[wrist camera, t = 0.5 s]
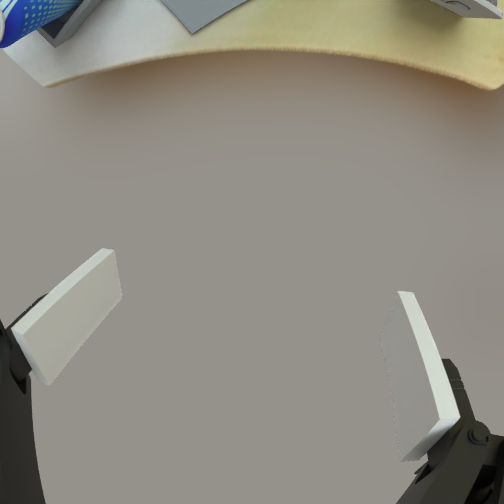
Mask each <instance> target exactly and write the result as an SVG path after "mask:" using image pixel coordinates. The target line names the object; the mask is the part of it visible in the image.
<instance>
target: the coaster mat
mask: <svg viewBox="0 0 504 504" xmlns="http://www.w3.org/2000/svg"><path fill="white" fill-rule="evenodd" d="M162 1H163V2H164V3H165V4H166V6H167V7H168V8H169V9H170V10H171V11H172V12H173V13H174V14H175V15H176V16H177V18H178V19H179V20H180V21H181V22H182V23H183V24H184V25H185V26H186V28H187V29H188V30H189V31H190V32H191V33H192V34H193V33H194V32H196V31H197V30H199V29H200V28H202V27H203V26H205V25H206V24H208V23H209V22H211V21H212V20H214V19H216V18H217V17H219V16H220V15H222V14H224V13H225V12H227V11H229V10H231V9H232V8H234V7H236V6H238V5H239V4H241V3H243V2H245V1H247V0H162Z"/></svg>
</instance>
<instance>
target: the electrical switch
mask: <svg viewBox="0 0 504 504" xmlns="http://www.w3.org/2000/svg"><path fill="white" fill-rule="evenodd" d="M429 1H432V2H434V3H436V4H438V5H440V6H442V7H444V8H446V9H449V10H451V11H452V12H454V13H456V14H458V15H460V16H462V17H466V18H492V19H502V15H503V11H501V10H500V9H498V8H497V0H429Z"/></svg>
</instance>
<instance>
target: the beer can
mask: <svg viewBox="0 0 504 504" xmlns="http://www.w3.org/2000/svg"><path fill="white" fill-rule="evenodd" d="M81 1H82V0H0V48H5V47H8V46H10V45H11V44H13V43H14V42H16V41H18V40H19V39H21V38H22V37H24V36H26V35H27V34H29V33H31V32H32V31H34V30H36V29H38V28H39V27H41V26H43V25H45V24H47V23H49V22H50V21H52V20H54V19H56V18H58V17H60V16H62V15H64V14H66V13H68V12H70V11H72V10H74V9H75V8H76V7H77V6H78V5H79V4H80V2H81Z"/></svg>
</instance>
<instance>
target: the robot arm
mask: <svg viewBox="0 0 504 504" xmlns="http://www.w3.org/2000/svg"><path fill="white" fill-rule="evenodd" d="M121 298H122V291H121V286H120V281H119V275H118V270H117V264H116V258H115V251H114V250H109V249H103V248H102V249H101V250H100V251H98V252H97V253H96V254H95V255H93V256H92V257H91V258H90V259H88V260H87V261H86V262H85V263H84V264H82V265H81V266H80V267H79V268H77V269H76V270H75V271H74V272H73V273H71V274H70V275H69V276H68V277H67V278H66V279H64V280H63V281H62V282H61V283H60V284H59V285H57V286H56V288H54V289H53V290H52V291H51V292H50V293H47V294H45V295H43V296H42V297H40V298H39V299H37V300H36V301H35V302H34V303H33V304H32V306H30V307H29V308H28V309H27V310H26V311H24V312H23V313H22V314H21V315H20V316H19V317H18V318H17V319H16V320H15V321H14V322H13V323H12V324H11V325H9V326H8V327H7V328H6V329H5V328H4V326H3V324H2V322H1V320H0V504H46V503H45V499H44V495H43V490H42V486H41V480H40V475H39V470H38V463H37V457H36V450H35V441H34V432H33V420H32V405H31V404H32V403H31V379H30V376H29V372H30V371H31V370H33V372H34V374H35V376H36V377H37V379H38V380H40V381H42V382H43V383H45V384H47V385H49V386H50V385H51V384H52V382H53V381H54V380H55V378H56V377H57V376H58V374H59V373H60V372H61V371H62V369H63V368H64V367H65V366H66V364H67V363H68V362H69V360H70V359H71V358H72V357H73V355H74V354H75V353H76V352H77V351H78V349H79V348H80V347H81V345H82V344H83V343H84V342H85V341H86V340H87V338H88V337H89V336H90V335H91V333H92V332H93V331H94V330H95V329H96V327H97V326H98V325H99V324H100V323H101V322H102V320H103V319H104V318H105V317H106V316H107V314H108V313H109V312H110V311H111V310H112V309H113V308H114V306H115V305H116V304H117V303H118V302H119V301H120V300H121ZM380 341H381V346H382V351H383V356H384V360H385V365H386V370H387V376H388V381H389V386H390V392H391V398H392V404H393V410H394V417H395V424H396V431H397V439H398V447H399V457H400V462H403V461H415V460H419V459H420V458H421V457H422V456H424V455H425V454H426V453H427V455H428V461H427V462H426V463H425V464H424V465H423V466H421V467H420V468H419V469H418V470H417V471H416V472H415V473H414V474H418V475H417V476H416V477H415V479H414V480H413V482H412V483H411V484H410V486H409V487H408V489H407V490H406V491H405V493H404V494H403V495H402V496H401V498H400V499H399V500H398V502H397V503H396V504H504V436H498V435H493V434H491V433H490V431H489V429H488V428H487V426H485V425H484V424H483V423H482V422H479V421H476V420H475V418H474V414H473V411H472V408H471V405H470V402H469V399H468V396H467V393H466V391H465V389H464V385H463V383H462V381H461V377H460V374H459V372H458V369H457V368H456V366H455V365H454V364H453V363H452V361H451V360H450V359H441V358H440V355H439V353H438V350H437V347H436V345H435V342H434V340H433V337H432V335H431V332H430V330H429V328H428V325H427V323H426V321H425V318H424V316H423V314H422V311H421V309H420V307H419V305H418V302H417V300H416V298H415V296H414V294H413V293H412V292H404V291H398V292H397V295H396V297H395V300H394V303H393V306H392V309H391V311H390V314H389V316H388V319H387V322H386V324H385V327H384V330H383V332H382V334H381V337H380Z"/></svg>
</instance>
